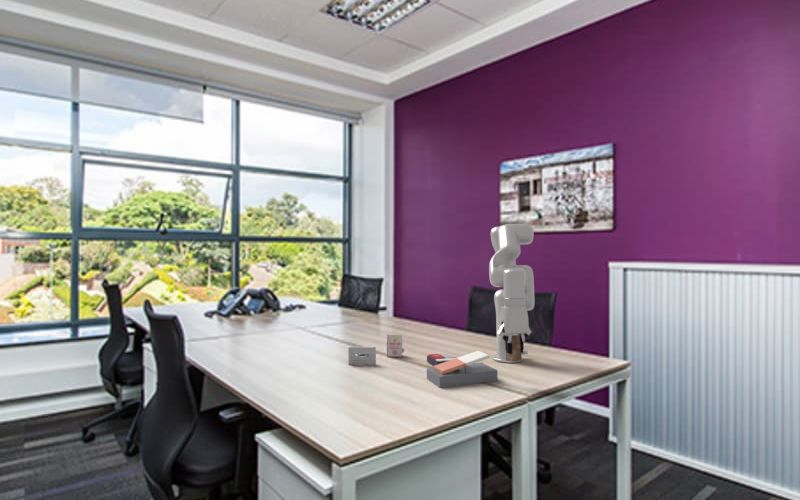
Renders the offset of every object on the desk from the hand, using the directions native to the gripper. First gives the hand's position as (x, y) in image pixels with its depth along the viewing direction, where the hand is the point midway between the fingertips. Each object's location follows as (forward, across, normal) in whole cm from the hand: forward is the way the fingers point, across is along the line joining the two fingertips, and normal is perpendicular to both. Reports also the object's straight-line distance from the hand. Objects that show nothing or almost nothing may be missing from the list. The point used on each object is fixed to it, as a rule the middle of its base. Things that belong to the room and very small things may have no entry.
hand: (514, 352), depth 165 cm
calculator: (+13, +12, -36) cm, 40 cm away
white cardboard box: (+12, +27, -58) cm, 65 cm away
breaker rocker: (+6, +15, -13) cm, 21 cm away
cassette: (+12, +45, -49) cm, 68 cm away
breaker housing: (+12, +15, -13) cm, 23 cm away
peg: (+3, 0, 0) cm, 3 cm away
